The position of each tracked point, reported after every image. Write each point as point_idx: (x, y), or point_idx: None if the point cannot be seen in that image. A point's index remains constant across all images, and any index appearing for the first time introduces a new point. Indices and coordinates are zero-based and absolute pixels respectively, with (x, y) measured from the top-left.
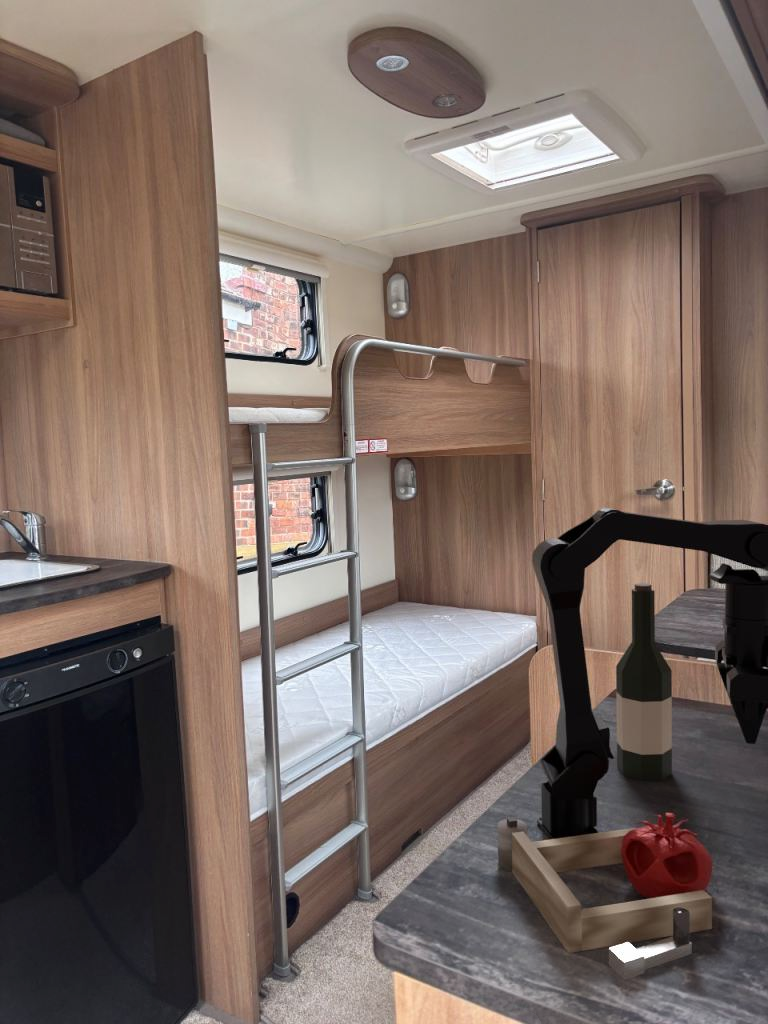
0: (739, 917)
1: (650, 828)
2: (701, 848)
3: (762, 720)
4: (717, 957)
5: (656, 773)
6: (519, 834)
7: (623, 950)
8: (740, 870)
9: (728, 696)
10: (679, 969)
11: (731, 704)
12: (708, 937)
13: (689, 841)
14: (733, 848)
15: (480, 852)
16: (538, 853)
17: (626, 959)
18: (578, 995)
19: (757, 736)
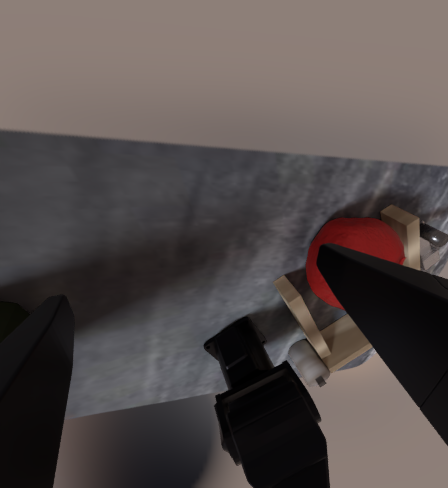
0: (378, 180)
1: None
2: (390, 243)
3: (444, 278)
4: (423, 198)
5: (20, 319)
6: (333, 368)
7: (429, 262)
8: (294, 177)
9: (57, 444)
10: (427, 222)
11: (67, 391)
12: (400, 206)
13: (391, 259)
14: (239, 185)
15: None
16: (363, 348)
17: (438, 258)
18: (432, 270)
19: (358, 251)
